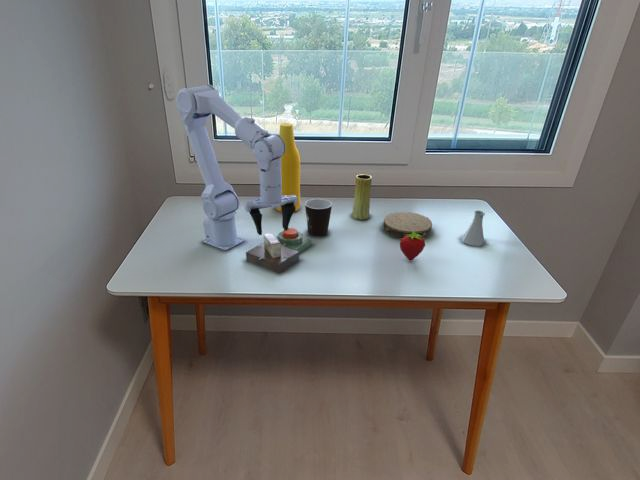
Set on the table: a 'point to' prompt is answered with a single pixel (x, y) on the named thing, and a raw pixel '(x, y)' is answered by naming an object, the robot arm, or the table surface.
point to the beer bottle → (290, 165)
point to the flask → (475, 230)
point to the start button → (290, 233)
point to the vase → (362, 197)
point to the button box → (294, 242)
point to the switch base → (265, 260)
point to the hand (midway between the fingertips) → (272, 231)
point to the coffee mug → (318, 216)
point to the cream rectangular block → (272, 245)
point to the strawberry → (412, 245)
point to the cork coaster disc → (407, 224)
